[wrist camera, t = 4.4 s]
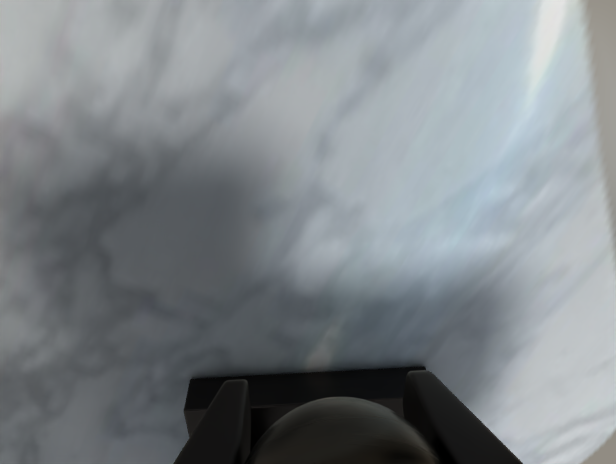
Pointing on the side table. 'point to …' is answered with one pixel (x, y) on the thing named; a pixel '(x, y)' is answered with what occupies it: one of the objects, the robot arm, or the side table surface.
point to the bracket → (299, 393)
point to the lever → (342, 436)
